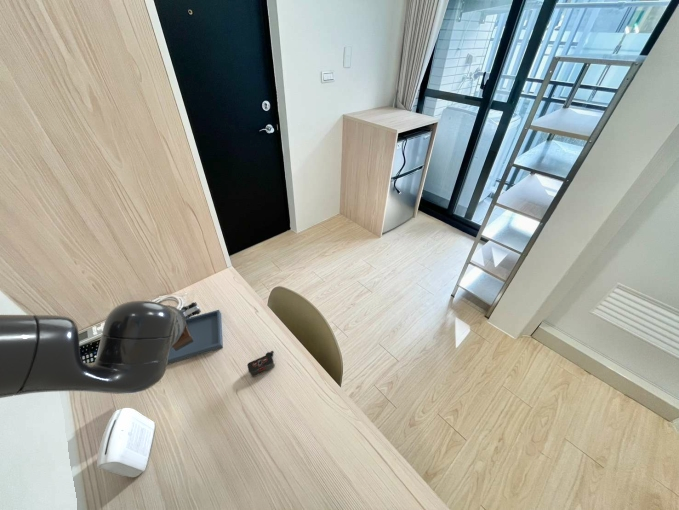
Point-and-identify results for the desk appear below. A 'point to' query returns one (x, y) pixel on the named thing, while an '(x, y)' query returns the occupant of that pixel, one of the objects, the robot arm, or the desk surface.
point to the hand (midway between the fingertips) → (171, 318)
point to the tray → (200, 336)
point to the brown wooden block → (183, 339)
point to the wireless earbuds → (261, 364)
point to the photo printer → (126, 443)
